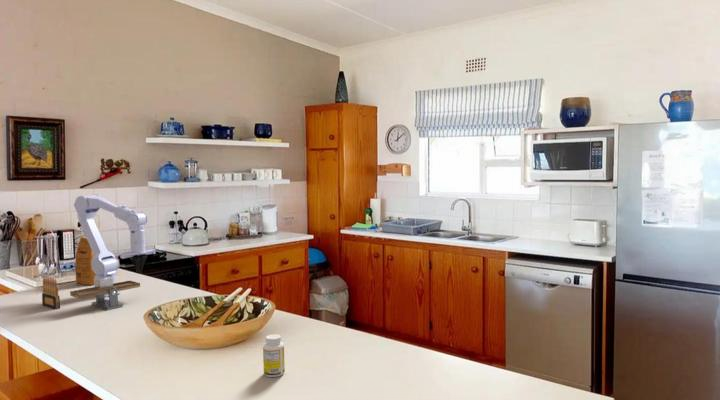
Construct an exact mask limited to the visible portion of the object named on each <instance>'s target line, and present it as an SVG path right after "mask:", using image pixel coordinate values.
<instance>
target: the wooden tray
mask: <svg viewBox="0 0 720 400" xmlns="http://www.w3.org/2000/svg"><path fill="white" fill-rule="evenodd" d="M136 288H141V283H140V282H137V281H134V280H125V281H120V282H116V283H114V284H113V288H108V289H103V290H96V289H95V287H94V286H93V287H87V288H82V289H76V290H72V291H70V292H69V295H70V297H73V298H76V299H79V300H81V299H86V298H89V297H96V295H102V294H109V290H111V289H117V290H118V292H121V291H126V290H131V289H136Z"/></svg>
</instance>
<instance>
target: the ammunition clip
mask: <svg viewBox="0 0 720 400" xmlns="http://www.w3.org/2000/svg"><path fill="white" fill-rule="evenodd" d="M41 297H42V298H41V300H42V304H41V305H42V306H43V307H45V308H49V309H53V310H55V309H56V310H60V309H61V300H60V295H59V287H58V281H57V278H52V277H49V276H43V278H42V293H41Z"/></svg>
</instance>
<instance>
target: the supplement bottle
mask: <svg viewBox="0 0 720 400" xmlns="http://www.w3.org/2000/svg"><path fill="white" fill-rule="evenodd" d="M281 337H282V336H281V335H280V334H275V333H274V334H268V335H266V336H265V343H264V344H263V346H262V351H263V352H262V355H263V356H262V359H263V361H262V362H263V374H264V376H265V377H268V378H278V377H280V376H282V375H284V374H285V372H286V371H285V369H286V367H285V365H286V364H285V345H284V344H285V343H284V342H283V341H282V338H281Z"/></svg>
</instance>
